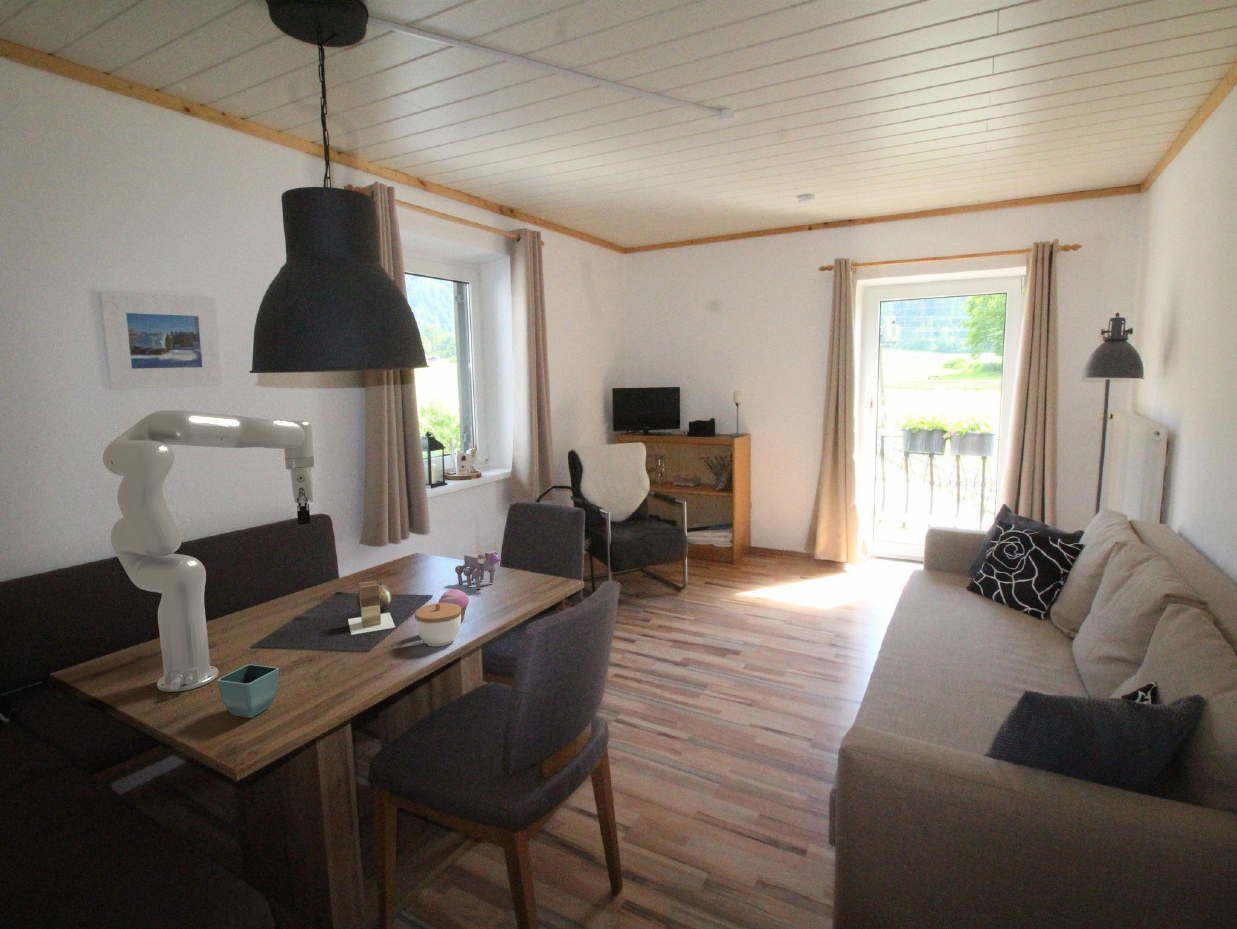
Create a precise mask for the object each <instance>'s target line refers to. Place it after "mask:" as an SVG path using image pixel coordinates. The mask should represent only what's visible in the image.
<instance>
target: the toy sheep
mask: <svg viewBox="0 0 1237 929" xmlns="http://www.w3.org/2000/svg"><path fill="white" fill-rule="evenodd" d="M463 560H464V564H463V565H457V566H455V568H454V571H455V573H456V574H457V580H458V581H457V582H458V585H459V584H462V585H463V582H464V581H463V577H462V574H463V575H464V576H465V577H466V581H467V582H466V584H467V588H468V587H469V586H472V584H473V583H472V579H475V580H474V581H475V588H476V590H477V589H480V590H481V584H480V581H481V580H485V572H488V573H489V584H490V583H493V584H494V580H495V577H494V576H495V572H496V570H497V567H496V565H495V564H497V563H499V562H501V561H502V559H501V558H500V557H499V556H498V551H497V550H495V549H491V550H489V551H485V553H483V552H481V553H480V554H476V553H471V552H470V553H468V554H464V555H463ZM472 587H473V586H472Z"/></svg>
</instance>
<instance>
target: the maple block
mask: <svg viewBox="0 0 1237 929" xmlns="http://www.w3.org/2000/svg"><path fill="white" fill-rule="evenodd" d="M359 604H360V615H361V616H360V617H361V620H362V625H363V627H368V626H374V625H380V624H381V615H380V614H381V605H375V606H369V607H361V603H360V602H359Z"/></svg>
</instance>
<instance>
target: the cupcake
mask: <svg viewBox="0 0 1237 929" xmlns="http://www.w3.org/2000/svg"><path fill="white" fill-rule="evenodd" d="M437 603H452V604H456V605H459V606H460V607H461V622H463V621H464V619H465V615H466V610H467V608H468V606H469V603H470V599H469V596H468V594H467V593H466V592H464V591H462V590H460V589H449V590H446V591H445V592H444V593H443V594H442V595H441V596H440V598H439V599H438V602H437Z"/></svg>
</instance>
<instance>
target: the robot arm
mask: <svg viewBox="0 0 1237 929" xmlns="http://www.w3.org/2000/svg"><path fill="white" fill-rule="evenodd" d="M312 428H313V427H312V424H311V422H310V421H308V420H288V421H287V420H277V419H268V418H259V417H257V418H256V417H249V416H243V415H235V414H234V415H233V414H225V413H224V414H223V413H216V412H215V413H214V412H213V413H212V412H203V411H196V410H195V411H194V410H185V409H184V410H182V409H181V410H180V409H176V410H173V409H172V410H168V409H164V410H163V409H161V410H160V409H159V410H156V411H154V412H151V413H150V414H147V415H146V416H144V417H143V418H142V419H140V420H139V421H137V423H135V424H133V425H132V426H131V427H129V428H128V429H127V430H125V431H124V432H122V433H121V434H120V435H119V436H117V437H116V438H115V439H113V440H112V441H110V443H109V444H108V445H106V447H105V449H104V451H103V454H102V463H103V465H104V467H105V468H106V469H107V470H108V471H109V472H111V473H112V474H114V475H117V476H121V477H122V479H121V482H120V484H119V485H118V486H119V487H118V490H117V494H116V495H117V496H116V500H117V505H118V509H119V510H120V512H121V514H122V517H121V518H119V519H118V520H117V521H116V522H115V523H114V524H113V526H112V528H111V530H110V531H111V532H110V543H111V547H112V548H113V551H114V553H115V555H116V556H117V559H118V561H119V562H120V564H121V566H122V567H123V569H124V571H125V573H126V574H127V576H128V578H129V579H130V581H131V582H132V583H133V585H134V586H135V587H137V588H139V589H141V590H143V591H147V592H152V593H159V594H161V599H160V601H159V605H158V609H157V623H158V624H157V625H158V630H159V631H158V632H159V638H160V639H159V640H160V650H161V660H162V667H163V668H162V669H163V676H162V677H159V679H158V680H157V682H156V687H157V689H158V690H159V691H162V692H165V693H166V692H167V693H173V692H175V693H176V692H177V693H178V692H182V691H188V690H189V691H190V690H193V689H196V688H199V687H203V686H205V685H207V684H209V683H211V682H213V681H214V680H215V679H216V678H217V677H218V676H219V669H218V668H217V667H215V666H213V665H211V660H210V649H209V640H208V629H207V618H206V609H205V608H206V607H205V590H206V588H205V587H206V582H207V581H206V580H207V571H206V568H205V565H204V564H203V563H202V561H200V560H199V559H197V558H196V557H193V556H190V555H186V554H179V553H175V552H176V551H177V550H179V549H180V547H181V544H182V541H183V540H182V532H181V530H180V528H179V526H178V525H177V522H176V520H175V518H174V516H173V515H172V512H171V510H170V509H169V506H168V504H167V501H166V500H165V496H164V492H163V489H164V484H165V481H166V478H167V477H168V475H169V473H170V471H171V470H172V468H173V465H174V463H175V462H174V461H175V455H174V452H173V449H172V448H171V447H170V445H171V446H186V447H187V446H190V447H207V448H227V449H228V448H230V449H246V448H248V449H250V448H263V449H264V448H265V449H275V450H276V449H279V450H280V449H282V450H283V449H284V450H283V451H284V464H285V470H288V471H289V470H290V477H291V479H290V480H291V488H292V494H293V495H292V496H293V498H294V499H293V500H294V503H296V504H297V505H296V509H297V511H296V514H297V515H296V516H297V524H298V525H299V526H300V525H310V524H311V514H310V504H309V502H310V503H312V502H314V491H313V489H314V488H313V477H312V469H314V468H315V457H314V444H313V442H314V441H313V431H312Z"/></svg>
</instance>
